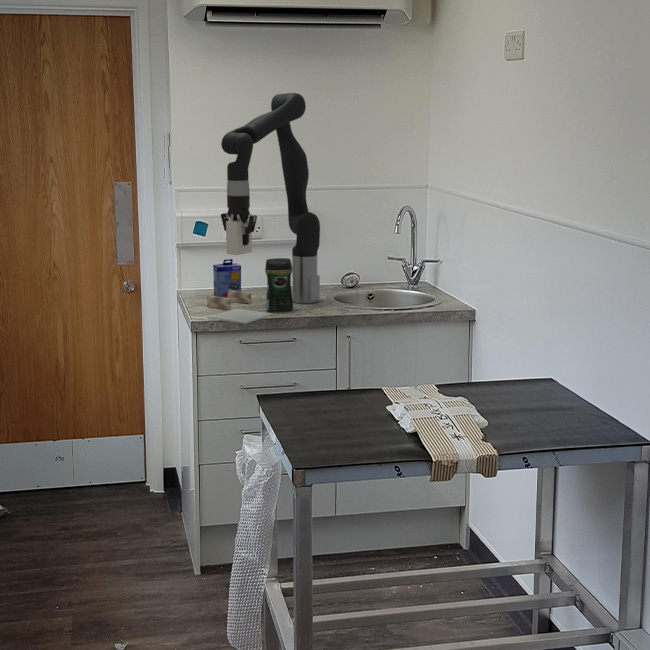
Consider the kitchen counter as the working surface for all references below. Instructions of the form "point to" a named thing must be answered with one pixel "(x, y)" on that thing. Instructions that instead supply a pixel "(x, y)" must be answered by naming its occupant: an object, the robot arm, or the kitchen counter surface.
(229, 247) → the block
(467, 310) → the kitchen counter surface
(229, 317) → the sage mat
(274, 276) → the coffee jar
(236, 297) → the divider rack
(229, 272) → the ink cartridge box
